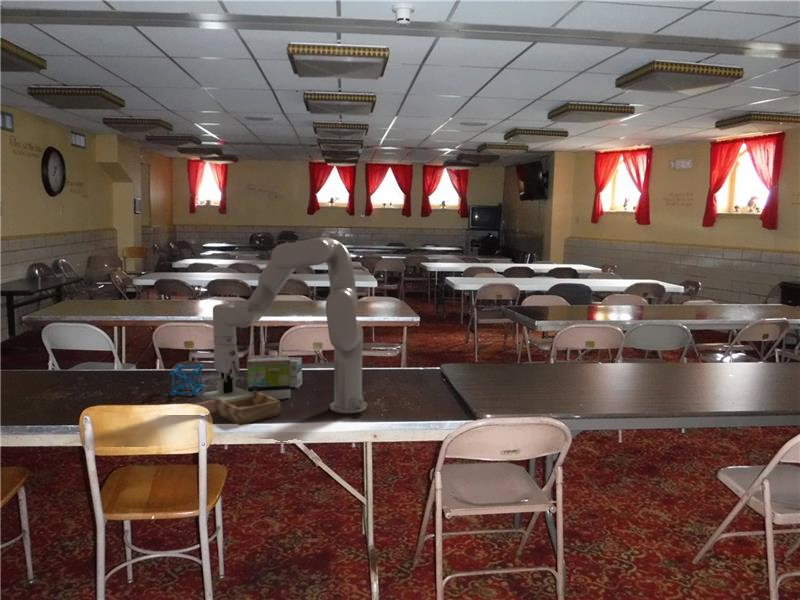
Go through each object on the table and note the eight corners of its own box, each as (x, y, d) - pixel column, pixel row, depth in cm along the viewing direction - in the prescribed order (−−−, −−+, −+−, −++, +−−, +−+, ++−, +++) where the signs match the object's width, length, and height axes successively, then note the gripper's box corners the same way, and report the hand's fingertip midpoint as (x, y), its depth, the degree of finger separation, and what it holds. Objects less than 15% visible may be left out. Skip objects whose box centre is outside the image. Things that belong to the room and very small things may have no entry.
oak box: (280, 415, 204) (280, 400, 204) (239, 425, 194) (239, 410, 194) (255, 404, 216) (255, 390, 215) (215, 413, 206) (215, 399, 205)
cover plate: (254, 396, 214) (254, 380, 213) (221, 404, 205) (221, 386, 204) (235, 389, 223) (235, 373, 222) (203, 395, 214) (202, 379, 213)
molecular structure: (204, 389, 234) (203, 363, 233) (197, 396, 224) (196, 370, 223) (177, 389, 233) (176, 363, 232) (169, 397, 224) (168, 370, 222)
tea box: (248, 402, 218) (247, 361, 216) (247, 394, 228) (246, 355, 226) (291, 399, 223) (290, 359, 221) (288, 391, 232) (287, 353, 230)
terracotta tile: (242, 406, 214) (242, 404, 213) (210, 413, 205) (210, 412, 205) (225, 398, 222) (225, 397, 222) (194, 405, 214) (194, 403, 214)
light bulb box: (302, 383, 243) (302, 357, 241) (298, 388, 236) (297, 361, 235) (276, 382, 244) (275, 356, 242) (270, 387, 237) (270, 360, 236)
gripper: (246, 342, 209) (247, 394, 212) (223, 335, 220) (225, 385, 223) (226, 345, 204) (227, 398, 207) (204, 338, 215) (206, 389, 218)
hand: (226, 391), depth 215 cm, fingers closed on cover plate, 1 cm apart
